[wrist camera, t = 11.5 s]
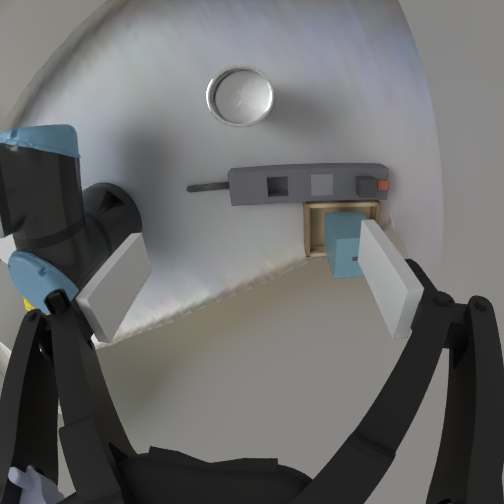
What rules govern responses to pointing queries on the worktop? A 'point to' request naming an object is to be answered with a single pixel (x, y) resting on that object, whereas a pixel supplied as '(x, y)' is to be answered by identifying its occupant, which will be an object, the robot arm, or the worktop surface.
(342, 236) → the block
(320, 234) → the tray
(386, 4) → the worktop surface
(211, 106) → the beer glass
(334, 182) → the power strip
